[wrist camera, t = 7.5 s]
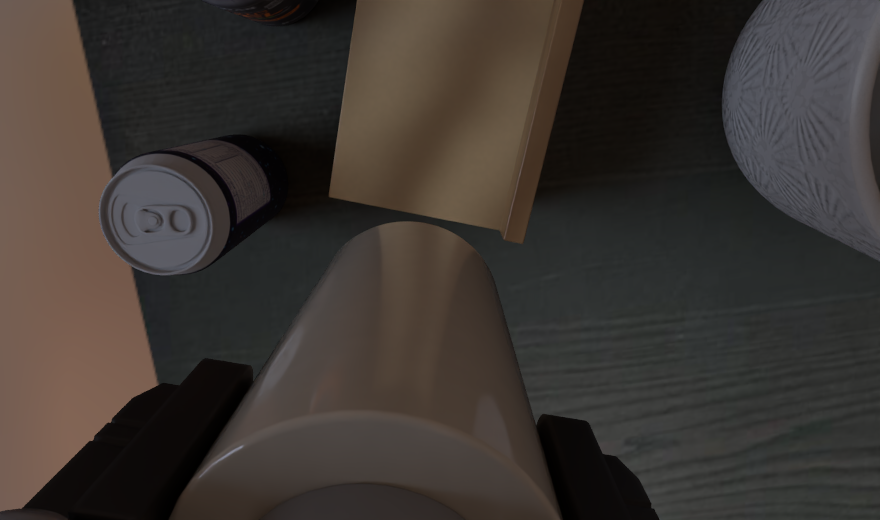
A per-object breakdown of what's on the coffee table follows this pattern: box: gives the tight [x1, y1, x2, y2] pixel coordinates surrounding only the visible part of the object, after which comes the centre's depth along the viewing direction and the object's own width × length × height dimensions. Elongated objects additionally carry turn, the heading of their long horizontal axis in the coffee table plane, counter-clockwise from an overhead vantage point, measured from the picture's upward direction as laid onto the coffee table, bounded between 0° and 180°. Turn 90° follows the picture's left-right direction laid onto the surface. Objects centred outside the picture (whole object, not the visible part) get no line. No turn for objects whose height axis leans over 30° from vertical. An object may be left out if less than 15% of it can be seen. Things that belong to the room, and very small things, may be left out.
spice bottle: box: [168, 221, 563, 520], centre depth 10 cm, size 5×5×10 cm
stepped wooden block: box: [329, 0, 584, 244], centre depth 29 cm, size 10×16×9 cm, turn 169°
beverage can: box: [99, 135, 288, 275], centre depth 30 cm, size 6×6×12 cm
